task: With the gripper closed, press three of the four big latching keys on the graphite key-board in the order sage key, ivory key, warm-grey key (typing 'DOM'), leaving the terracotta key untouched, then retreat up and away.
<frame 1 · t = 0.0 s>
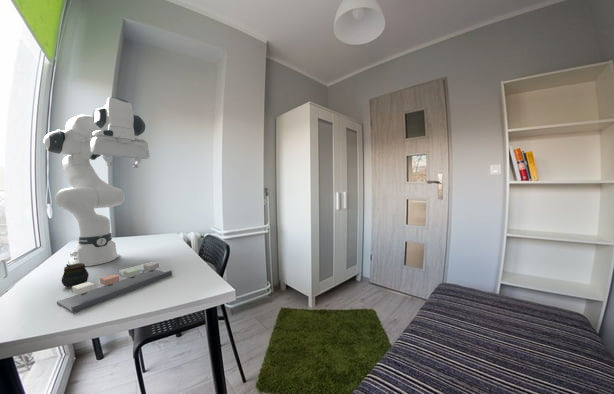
hand: (123, 167, 93), 48 cm above the table, fingers open, 8 cm apart
key D: (132, 273, 83), point 4 cm above the table, slide at 0.0 cm
key E: (109, 281, 77), point 4 cm above the table, slide at 0.0 cm
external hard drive: (138, 271, 98), on the table
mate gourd: (76, 285, 83), on the table
key M: (151, 267, 90), point 4 cm above the table, slide at 0.0 cm
key O: (83, 289, 71), point 4 cm above the table, slide at 0.0 cm
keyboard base: (122, 287, 80), on the table
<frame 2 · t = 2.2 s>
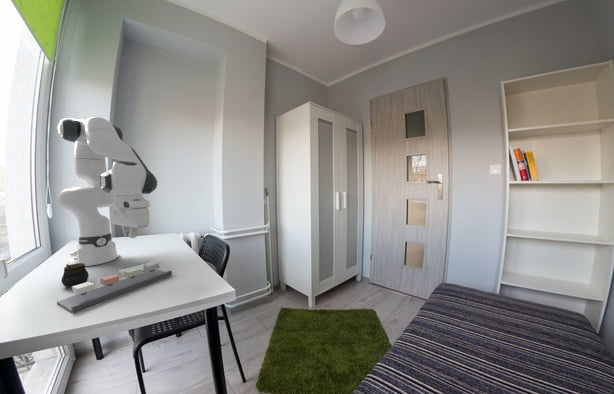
hand: (130, 237, 83), 19 cm above the table, fingers closed
nothing on the table moved.
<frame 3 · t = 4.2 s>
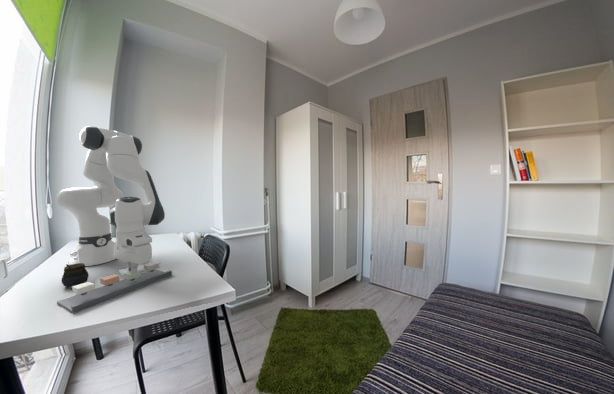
hand: (133, 271, 83), 5 cm above the table, fingers closed, pressing on key D
key D: (132, 276, 83), point 3 cm above the table, slide at 0.9 cm, touching gripper
everything else where it was.
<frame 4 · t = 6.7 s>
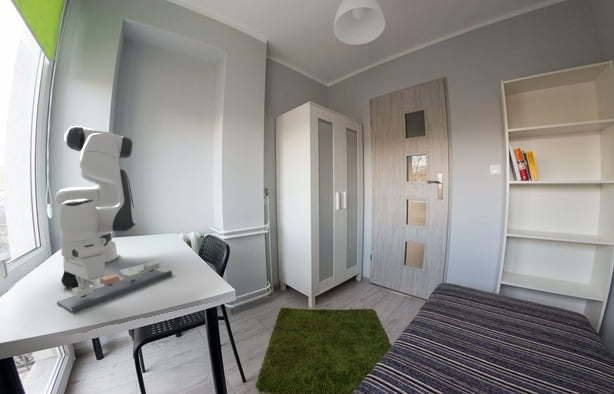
hand: (84, 287, 71), 5 cm above the table, fingers closed, pressing on key O
key D: (132, 277, 83), point 3 cm above the table, slide at 1.3 cm
key O: (83, 292, 71), point 3 cm above the table, slide at 0.8 cm, touching gripper
everything else where it was.
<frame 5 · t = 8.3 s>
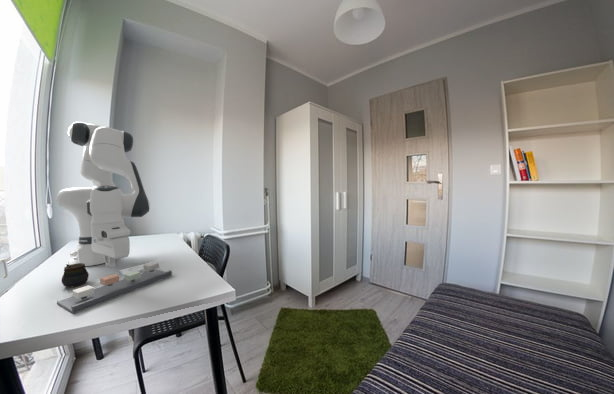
hand: (110, 266, 77), 9 cm above the table, fingers closed
key O: (83, 293, 71), point 3 cm above the table, slide at 1.3 cm
everything else where it was.
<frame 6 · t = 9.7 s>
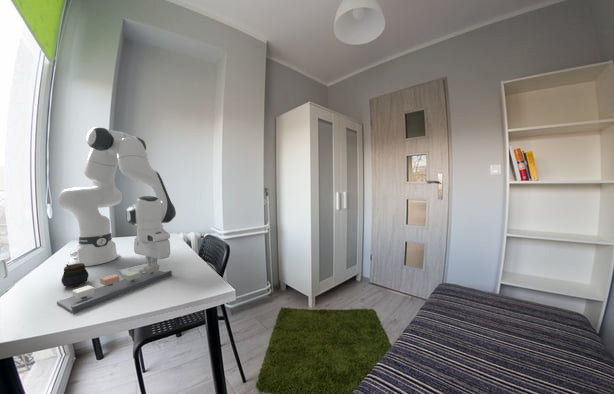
hand: (152, 265, 90), 5 cm above the table, fingers closed, pressing on key M
key M: (151, 269, 90), point 3 cm above the table, slide at 1.0 cm, touching gripper
everything else where it was.
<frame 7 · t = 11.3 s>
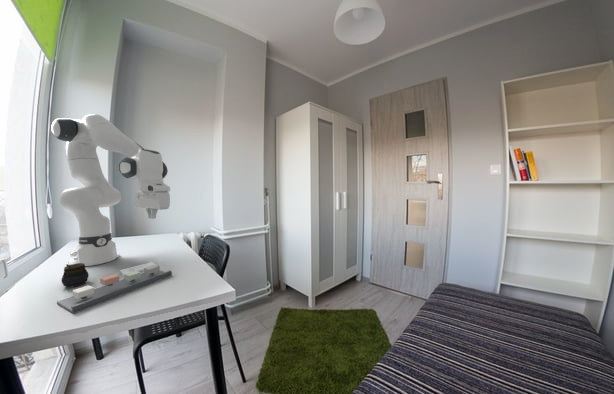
hand: (152, 218, 91), 25 cm above the table, fingers closed
key M: (151, 270, 90), point 3 cm above the table, slide at 1.3 cm
everything else where it was.
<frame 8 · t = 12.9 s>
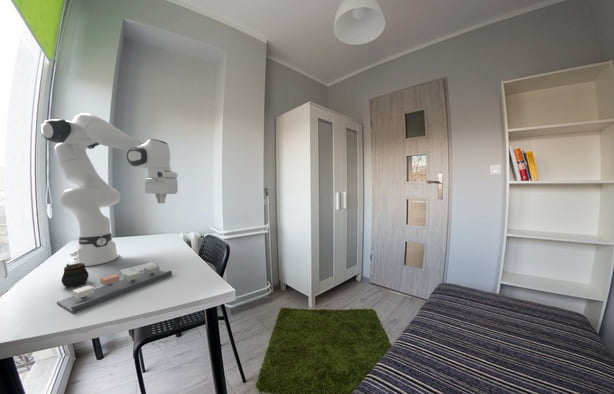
hand: (161, 203, 99), 31 cm above the table, fingers closed
nothing on the table moved.
at the end: key D slide at 1.3 cm; key M slide at 1.3 cm; key E slide at 0.0 cm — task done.
